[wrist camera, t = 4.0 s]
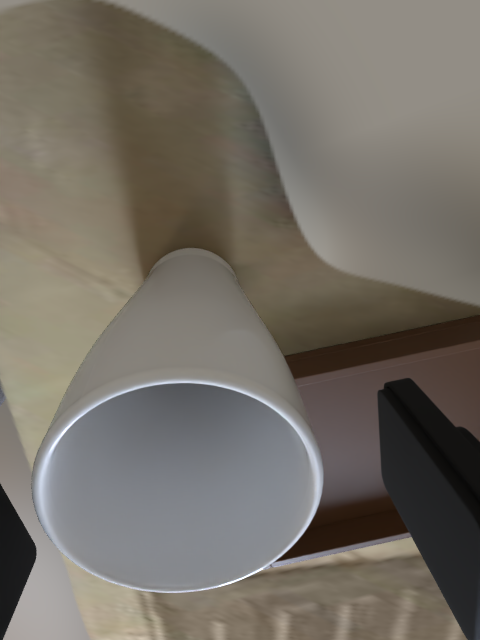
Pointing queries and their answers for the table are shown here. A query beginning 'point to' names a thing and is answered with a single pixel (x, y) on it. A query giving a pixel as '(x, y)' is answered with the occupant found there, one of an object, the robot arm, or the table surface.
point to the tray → (375, 424)
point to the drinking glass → (180, 440)
